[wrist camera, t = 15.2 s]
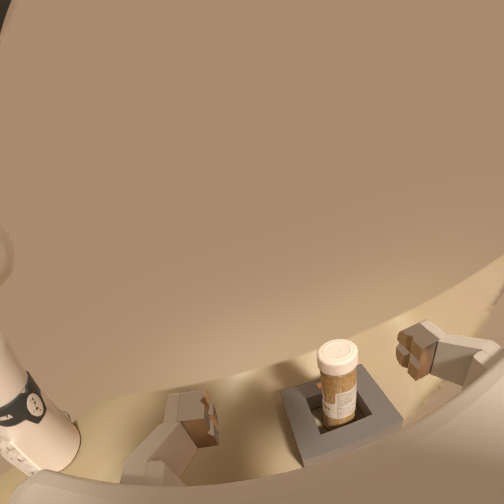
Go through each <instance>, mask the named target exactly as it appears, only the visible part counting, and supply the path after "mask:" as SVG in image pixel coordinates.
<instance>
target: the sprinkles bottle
mask: <svg viewBox="0 0 504 504" xmlns="http://www.w3.org/2000/svg"><path fill="white" fill-rule="evenodd" d="M317 363H318V368H319V369H320V374H321V391H322V405H323V412H324V417H323V423H324V425H325V427H326V428H327V429H329V430H331V431H332V430H335V429H338V428H340V427H343V426H346V425H348V424H351V423H353V422H355V407H356V390H357V378H356V366H357V363H358V349H357V346H356V345H355V344H354V343H353V342H351V341H349V340H346V339H335V340H331V341H328V342H326V343H324V344H323V345H322V346H321V347H320V348H319V349H318V351H317Z"/></svg>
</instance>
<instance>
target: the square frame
mask: <svg viewBox="0 0 504 504" xmlns="http://www.w3.org/2000/svg"><path fill="white" fill-rule="evenodd" d="M356 378H357V390H356V403H357V405H358V407H359V408H360V410H361V412H362V413H363V415H364V416H365V418H363V419H360V420H358V421H356V422H353V423H351V424H348V425H346V426H343V427H340V428H338V429H335V430H332V431H329V432H327V433H324V434H320V432H319V429H318V427H317V425H316V422H315V420H314V418H313V415H312V413H311V411H310V410H312V409H315V408H318V407H321V406H323V405H322V391H321V379H318V380H315V381H312V382H308V383H305V384H302V385H299V386H295V387H292V388H288V389H285V390H281V391H280V393H281V397H282V401H283V405H284V408H285V411H286V414H287V417H288V420H289V424H290V427H291V430H292V433H293V436H294V439H295V442H296V445H297V448H298V451H299V454H300V457H301V460H302V463H303V466H304V467H308V466H311V465H314V464H318V463H321V462H324V461H327V460H330V459H333V458H335V457H338V456H341V455H344V454H346V453H349V452H351V451H354V450H356V449H359V448H361V447H364V446H366V445H368V444H371V443H373V442H375V441H377V440H379V439H381V438H384V437H386V436H388V435H390V434H392V433H394V432H396V431H398V430H400V429H401V426H402V422H403V418H402V416H401V415H400V414H399V412H398V411H397V410H396V409H395V407H394V406H393V405H392V403H391V402H390V401H389V399H388V398H387V397H386V395H385V394H384V393H383V391H382V390H381V389H380V387H379V386H378V385H377V384H376V382H375V381H374V380H373V378H372V377H371V376H370V374H369V373H368V372H367V371H366V369H365V368H364V367H363V365H362V364H359V365H357V366H356Z"/></svg>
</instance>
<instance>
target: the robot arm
mask: <svg viewBox="0 0 504 504" xmlns="http://www.w3.org/2000/svg"><path fill="white" fill-rule="evenodd" d="M19 2H20V0H0V41H1V40H2V38H3V37H4V35H5V34H6V32H7V31H8V29H9V27H10V25H11V24H12V22H13V19H14V17H15V15H16V12H17V9H18V6H19ZM14 266H15V250H14V245H13V242H12V239H11V237H10V235H9V233H8V231H7V230H6V229H5V227H4V226H3V225H2V224H0V287H1V286H2V285H4V283H6V282H7V281H8V280H9V279H10V278H11V277H12V275H13V271H14ZM397 340H398V341H399V344H398V346H397V347H396V357H397V360H398V362H399V364H400V365H401V366H402V367H405V368H408V371H407V372H408V374H409V375H410V376H411V377H412V378H413V379H414V380H415V381H416V380H418V379H420V378H422V377H424V376H426V375H428V374H431V375H434V376H436V377H439V378H442V379H445V380H447V381H450V382H453V383H456V384H458V385H461V386H462V389H461V391H460V392H459V393H458V394H457V395H455V396H454V397H452V398H451V399H450V400H448V401H446V402H445V403H444V404H442V405H440V406H439V407H438V408H436V409H434V410H433V411H431V412H429V413H428V414H426V415H425V416H423V417H421V418H420V419H418V420H416V421H414V422H413V423H411V424H409V425H407V426H405V427H403V428H401V429H400V430H398V431H396V432H394V433H392V434H390V435H388V436H386V437H384V438H381V439H379V440H377V441H375V442H373V443H371V444H368V445H366V446H364V447H361V448H359V449H356V450H354V451H351V452H349V453H346V454H344V455H341V456H338V457H335V458H333V459H330V460H327V461H324V462H321V463H318V464H314V465H311V466H308V467H304V468H301V469H297V470H293V471H289V472H285V473H281V474H277V475H272V476H267V477H262V478H257V479H251V480H245V481H238V482H231V483H222V484H212V485H199V486H186V485H185V484H184V483H183V482H182V481H181V480H180V479H179V478H180V477H181V475H182V474H183V472H184V471H185V469H186V468H187V466H188V465H189V463H190V461H191V460H192V458H193V457H194V455H195V453H196V452H197V450H198V448H202V447H209V446H216V445H219V438H218V431H217V429H216V425H217V424H218V422H217V415H216V411H215V408H214V405H213V403H212V402H210V401H209V394H208V392H207V390H206V389H203V390H195V391H187V392H181V393H170V394H169V395H168V396H167V401H166V408H165V414H164V421H163V423H160V424H159V425H158V426H157V427H156V428H155V429H154V430H153V431H152V432H151V433H150V434H149V435H148V436H147V437H146V438H145V439H144V440H143V441H142V442H141V443H140V444H139V445H138V446H137V447H136V448H135V449H134V450H133V451H132V452H131V453H130V454H129V455H128V456H127V457H126V458H125V460H124V465H123V470H122V475H121V480H120V484H119V483H111V482H104V481H97V480H92V479H86V478H81V477H76V476H72V475H68V474H64V473H60V472H58V471H60V470H62V469H63V468H65V467H66V466H67V465H68V464H69V463H70V462H71V461H72V460H73V458H74V457H75V455H76V453H77V451H78V449H79V445H80V435H79V431H78V429H77V428H76V427H75V426H74V425H73V424H72V422H71V419H70V416H69V414H68V413H67V412H65V411H61V410H60V409H59V408H58V407H57V405H56V404H55V403H54V402H53V401H52V400H51V398H50V397H49V396H48V395H47V394H46V392H45V391H43V390H40V388H39V387H38V385H37V384H36V382H35V380H34V379H33V378H32V376H31V375H30V374H29V372H27V371H25V369H24V368H23V366H22V364H21V363H20V361H19V359H18V357H17V356H16V354H15V352H14V350H13V348H12V347H11V344H10V343H9V341H8V339H7V337H6V336H5V335H4V334H3V333H2V332H1V331H0V449H1V455H2V456H3V457H4V458H5V459H6V460H7V461H8V462H10V463H11V464H12V465H14V466H15V467H16V468H18V469H19V470H20V471H22V472H23V473H25V474H26V475H27V476H29V478H27V479H26V480H24V481H23V482H21V483H20V484H19V485H18V486H17V487H16V489H15V490H14V492H13V494H12V496H11V498H10V500H9V503H8V504H504V349H503V348H502V347H500V346H499V345H498V344H496V343H495V342H493V341H492V340H486V339H479V338H473V337H467V336H461V335H455V334H449V335H448V334H446V333H445V332H444V331H442V330H441V329H440V328H438V327H437V326H436V325H434V324H433V323H432V322H430V321H429V320H426V319H425V320H423V321H421V322H419V323H417V324H415V325H413V326H411V327H409V328H407V329H405V330H402V331H400V332H399V333H398V337H397Z"/></svg>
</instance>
